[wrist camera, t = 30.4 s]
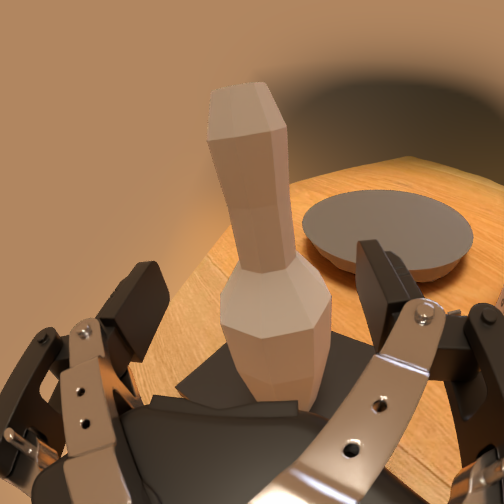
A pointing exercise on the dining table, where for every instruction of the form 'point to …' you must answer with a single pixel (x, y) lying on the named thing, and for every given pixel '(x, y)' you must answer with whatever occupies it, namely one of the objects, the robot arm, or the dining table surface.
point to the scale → (237, 393)
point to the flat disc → (390, 230)
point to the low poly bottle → (266, 254)
